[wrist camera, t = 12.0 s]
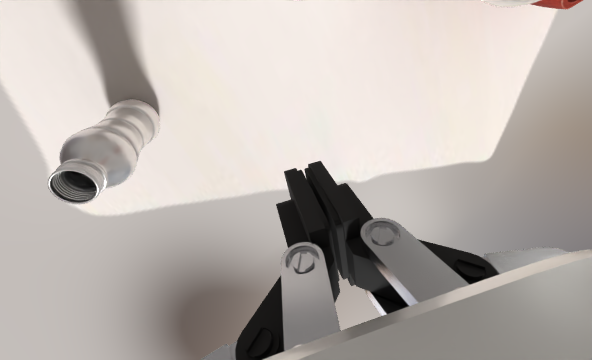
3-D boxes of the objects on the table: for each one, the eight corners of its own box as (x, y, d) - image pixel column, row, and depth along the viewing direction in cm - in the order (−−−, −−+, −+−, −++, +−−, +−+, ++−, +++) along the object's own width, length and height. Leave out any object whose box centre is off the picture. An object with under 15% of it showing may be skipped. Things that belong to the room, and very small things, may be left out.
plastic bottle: (103, 110, 37) (2, 180, 20) (141, 86, 37) (71, 138, 20) (137, 145, 41) (75, 228, 24) (173, 124, 40) (135, 194, 24)
